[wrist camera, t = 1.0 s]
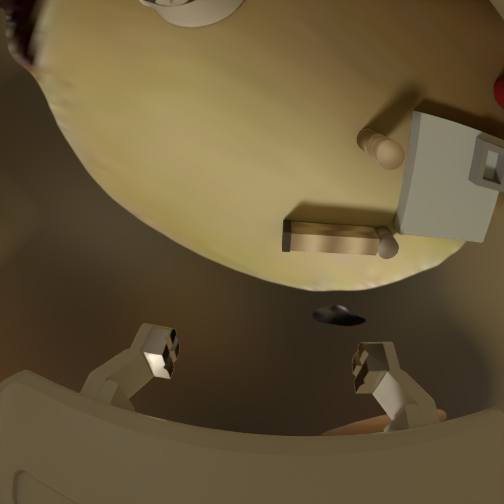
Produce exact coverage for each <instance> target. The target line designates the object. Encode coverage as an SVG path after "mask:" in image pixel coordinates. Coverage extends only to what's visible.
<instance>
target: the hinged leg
mask: <svg viewBox="0 0 504 504" xmlns="http://www.w3.org/2000/svg"><path fill="white" fill-rule="evenodd" d="M398 249H399V246H398V243H397V242H396V240H395V238H394V237H393V235H392V234H391V232H390V230H389V229H388V228H386V227H378V228H376V229H374V227H363V226H350V225H336V224H321V223H305V222H291V220H283V235H282V252H290V251H308V252H326V253H343V254H361V255H376V253H377V251H378V253H379V255H380V257H382V258H384V259H389V258H392V257H394V256H395V255H396V254H397V252H398Z"/></svg>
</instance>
